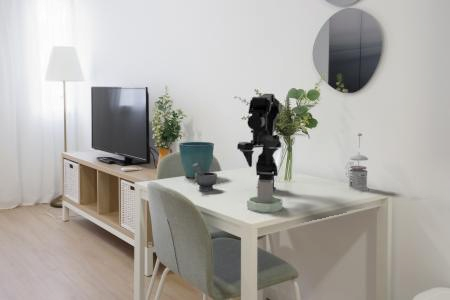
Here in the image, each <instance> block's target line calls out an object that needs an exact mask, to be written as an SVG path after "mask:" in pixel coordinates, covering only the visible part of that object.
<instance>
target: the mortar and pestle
mask: <svg viewBox="0 0 450 300" xmlns="http://www.w3.org/2000/svg"><path fill="white" fill-rule="evenodd" d="M193 168H194V169H195V171H196V174H195V178H194V179H195V182H196V184H197V185H198V186H199V187H198V188H199V191H203V192H204V191H207V192H208V191H212V190H214V188H213V186H214V185H215V184H216V182H217V178H218V174H217V173H216V172H212V171H209V172H202V170H201V169H200V167H199V164H198V163H196V164H194V165H193Z"/></svg>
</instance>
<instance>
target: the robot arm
mask: <svg viewBox="0 0 450 300" xmlns="http://www.w3.org/2000/svg"><path fill="white" fill-rule="evenodd" d="M247 113H248V115H251V116H249V117H248V119H247V121H246V122H247V125H248V127H249V129H251V130H250V133H252V139H251V140H250V142H249V141H239V142H238V143H237V146H236V147H237V148H236V149H237V150H239V152H242V154H243V156H244V158H245V160H246V163H247V164H248V167H249V168H252V165H253V155H254V152H255V150H254V148H261V149H262V151H261V153H259V155H258V157H257V161H256V164H255V170H256V171H255V173H256V176H258V180H273V190H276V189H277V187H275V177H277V176H278V172H279V171H278V165H277V163H276V159H275V158H274V154H275V152H276V151H278V150H279V149H280V148H282V142H281V141H280V140H281V139H280V135H278V134H274V133H275V123H276V122H277V120H278V119H279V118H280V116H279V115H280V114H281V104H280V101H279V100H278V99H277V98H276V97H275V94H273V93H264V94H262V95H261V96H252V97H251V99H250V101H249V107H248V112H247ZM258 180H257V181H258ZM256 188H257V189H258V186H256Z"/></svg>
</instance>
